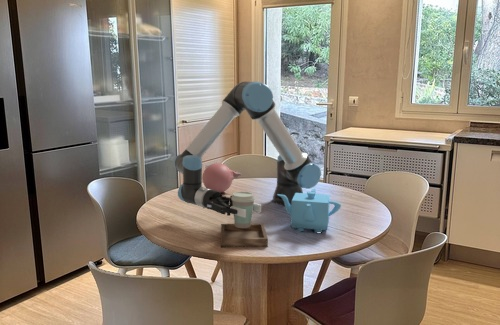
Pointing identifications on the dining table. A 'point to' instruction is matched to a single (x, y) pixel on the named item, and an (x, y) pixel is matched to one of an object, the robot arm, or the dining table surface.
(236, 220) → the coffee cup
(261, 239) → the wooden tray
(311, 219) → the teakettle
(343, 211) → the dining table surface
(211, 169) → the pink balloon
